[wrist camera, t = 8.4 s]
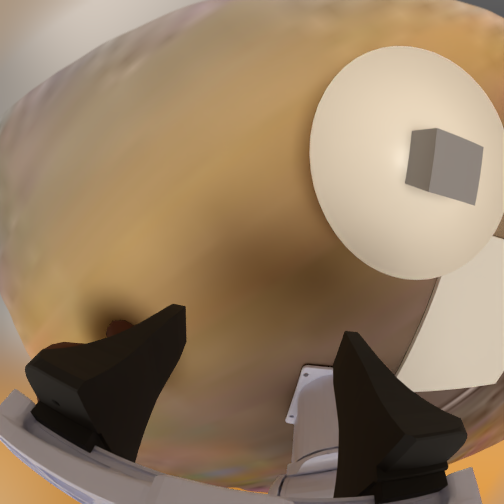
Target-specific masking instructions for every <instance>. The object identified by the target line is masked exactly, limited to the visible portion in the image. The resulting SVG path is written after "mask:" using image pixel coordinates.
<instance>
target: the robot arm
mask: <svg viewBox="0 0 504 504" xmlns="http://www.w3.org/2000/svg"><path fill="white" fill-rule="evenodd" d="M185 344H186V309H185V306H181V305H176V304H172V305H170V306H168V307H166V308H165V309H163V310H161V311H160V312H158V313H156V314H155V315H153V316H151V317H149V318H148V319H146V320H144V321H142V322H141V323H139V324H137V325H135V326H133V327H131V328H129V329H127V330H125V331H123V332H120V333H118V334H115V335H113V336H110V337H108V338H105V339H102V340H98V341H95V342H91V343H88V344H83V345H78V346H73V347H67V348H57V349H42V350H41V351H40V352H39V353H38V354H37V355H36V356H35V357H34V358H33V359H32V360H31V361H30V362H29V363H28V364H27V365H26V367H25V372H26V376H27V379H28V381H29V383H30V385H31V387H32V388H33V390H34V392H35V394H36V396H37V397H38V399H39V400H40V401H39V402H38V403H37V404H36V405H35V403H33V402H32V400H30V399H29V398H28V397H26V396H25V395H24V394H22V393H21V392H19V391H18V390H17V389H14V390H13V391H12V392H11V393H10V394H9V396H8V397H7V398H6V399H5V400H4V401H3V402H2V403H1V405H0V440H1V441H2V442H3V443H4V444H5V446H6V447H7V448H8V449H9V450H10V451H11V452H12V453H13V454H14V455H15V456H16V457H18V458H19V459H20V460H21V461H22V462H24V463H25V464H26V465H27V466H29V467H30V468H31V469H32V470H34V471H35V472H36V473H38V474H39V475H40V476H42V477H43V478H44V479H46V480H47V481H48V482H50V483H51V484H53V485H54V486H55V487H57V488H58V489H60V490H61V491H63V492H64V493H66V494H67V495H69V496H71V497H72V498H74V499H75V500H77V501H78V502H80V503H82V504H482V501H481V497H480V493H479V489H478V485H477V482H476V478H475V475H474V472H473V468H471V467H470V468H467V469H463V470H461V471H457V472H454V473H451V474H449V475H448V476H446V475H445V470H447V469H448V464H447V460H448V459H450V458H451V457H452V456H453V455H454V454H455V453H456V452H457V451H458V450H459V449H460V448H461V447H462V446H463V444H464V443H465V441H466V439H467V433H466V430H465V428H464V425H463V423H462V420H461V418H458V417H456V416H454V415H452V414H449V413H447V412H445V411H443V410H441V409H439V408H437V407H436V406H434V405H432V404H430V403H429V402H427V401H426V400H424V399H423V398H421V397H420V396H419V395H417V394H416V393H414V392H413V391H412V390H411V389H409V388H408V387H407V386H406V385H405V384H404V383H402V382H401V381H400V380H399V379H398V378H397V377H396V376H395V375H394V374H393V373H392V372H391V371H390V370H389V369H388V368H387V367H386V366H385V365H384V364H383V362H382V361H381V360H380V359H379V358H378V357H377V355H376V354H375V353H374V352H373V351H372V349H371V348H370V347H369V346H368V344H367V343H366V342H365V341H364V339H363V338H362V337H361V336H360V335H359V333H358V332H349V331H345V332H344V335H343V338H342V341H341V344H340V347H339V350H338V352H337V355H336V358H335V361H334V363H333V368H332V367H321V366H312V365H305V366H303V368H302V370H301V373H300V377H299V380H298V383H297V386H296V389H295V393H294V396H293V399H292V402H291V405H290V408H289V411H288V413H287V416H286V422H287V423H291V424H294V434H293V449H292V463H290V464H287V474H283V475H280V476H279V477H277V479H276V480H275V481H274V483H273V484H272V485H271V487H270V489H269V492H268V494H261V493H254V492H247V491H240V490H234V489H229V488H223V487H219V486H214V485H209V484H205V483H201V482H197V481H193V480H189V479H185V478H181V477H176V476H172V475H167V474H164V473H161V472H158V471H155V470H152V469H150V468H147V467H144V466H141V465H139V464H136V463H135V460H136V457H137V453H138V450H139V446H140V443H141V440H142V437H143V434H144V431H145V428H146V426H147V423H148V420H149V418H150V415H151V413H152V410H153V408H154V405H155V403H156V400H157V398H158V396H159V394H160V392H161V391H162V389H163V387H164V385H165V384H166V382H167V380H168V378H169V377H170V375H171V373H172V371H173V370H174V368H175V366H176V364H177V362H178V361H179V359H180V356H181V354H182V352H183V349H184V346H185ZM305 373H308V374H305Z"/></svg>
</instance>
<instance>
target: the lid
mask: <svg viewBox="0 0 504 504" xmlns="http://www.w3.org/2000/svg"><path fill="white" fill-rule="evenodd" d="M309 157H310V171H311V176H312V181H313V186H314V189H315V192H316V195H317V198H318V202H319V204H320V206H321V208H322V211H323V213H324V215H325V217H326V219H327V221H328V223H329V224H330V226H331V227H332V229H333V231H334V232H335V234H336V235H337V236H338V238H339V239H340V240H341V241H342V243H343V244H344V245H345V246H346V247H347V248H348V249H349V250H350V251H351V252H352V253H353V254H354V255H355V256H356V257H357V258H359V259H360V260H361V261H363V262H364V263H365V264H367V265H368V266H370V267H372V268H374V269H376V270H377V271H379V272H382V273H384V274H387V275H390V276H393V277H397V278H402V279H411V280H422V279H431V278H435V277H440V276H443V275H446V274H448V273H451V272H453V271H455V270H457V269H458V268H460V267H462V266H464V265H465V264H466V263H468V262H469V261H470V260H472V259H473V258H474V257H475V256H476V255H477V254H478V253H479V252H480V251H481V250H482V249H483V248H484V247H485V245H486V244H487V243H488V242H489V240H490V239H491V237H492V236H493V234H494V232H495V231H496V229H497V227H498V225H499V223H500V221H501V218H502V216H503V213H504V129H503V126H502V123H501V121H500V118H499V116H498V114H497V112H496V110H495V108H494V106H493V104H492V103H491V101H490V99H489V98H488V96H487V95H486V94H485V92H484V91H483V89H482V88H481V87H480V86H479V85H478V83H477V82H476V81H475V80H474V79H473V78H472V77H471V76H470V75H469V74H468V73H466V72H465V71H464V70H463V69H462V68H461V67H459V66H458V65H456V64H455V63H453V62H452V61H450V60H449V59H447V58H445V57H443V56H441V55H439V54H437V53H434V52H431V51H428V50H425V49H421V48H416V47H410V46H391V47H384V48H380V49H376V50H373V51H370V52H368V53H365V54H363V55H361V56H359V57H357V58H356V59H354V60H353V61H352V62H350V63H349V64H348V65H346V66H345V67H344V68H343V69H342V70H341V71H340V72H339V73H338V74H337V75H336V76H335V77H334V79H333V80H332V82H331V83H330V84H329V86H328V87H327V89H326V90H325V92H324V94H323V96H322V98H321V100H320V102H319V104H318V107H317V110H316V113H315V116H314V119H313V123H312V129H311V134H310V148H309Z"/></svg>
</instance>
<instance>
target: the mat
mask: <svg viewBox="0 0 504 504" xmlns="http://www.w3.org/2000/svg"><path fill="white" fill-rule="evenodd" d="M503 371H504V239H503V238H500V237H496V236H492V237H491V239H490V240H489V242H488V243H487V244H486V245H485V247H484V248H483V249H482V250H481V251H480V252H479V253H478V254H477V255H476V256H475V257H474V258H473V259H472V260H470V261H469V262H468V263H466V264H465V265H464V266H462V267H460V268H458V269H457V270H455V271H453V272H451V273H448V274H446V275H443V276H440V277H438V278H437V281H436V284H435V287H434V290H433V292H432V295H431V298H430V300H429V303H428V305H427V308H426V310H425V313H424V315H423V318H422V320H421V322H420V325H419V327H418V329H417V332H416V334H415V336H414V338H413V340H412V342H411V345H410V347H409V349H408V351H407V353H406V355H405V357H404V359H403V361H402V363H401V365H400V367H399V368H398V370H397V372H396V374H395V376H396V377H397V378H398V379H399V380H400V381H401V382H402V383H404V384H405V385H406V386H407V387H408V388H409V389H411V390H412V391H413V392H420V391H437V390H449V389H459V388H468V387H476V386H483V385H489V384H495V383H496V382H497V380H498V379H499V377H500V376H501V374H502V373H503Z"/></svg>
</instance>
